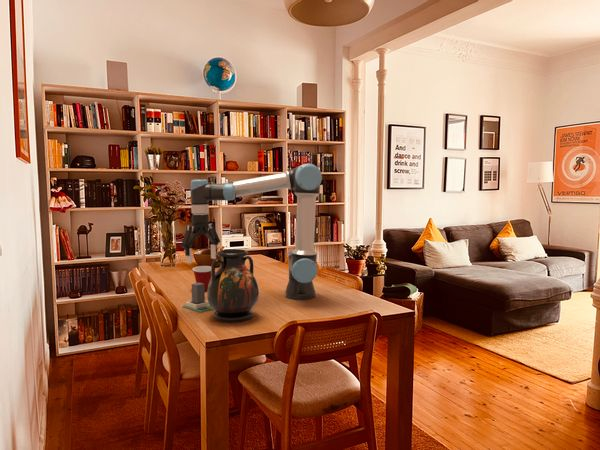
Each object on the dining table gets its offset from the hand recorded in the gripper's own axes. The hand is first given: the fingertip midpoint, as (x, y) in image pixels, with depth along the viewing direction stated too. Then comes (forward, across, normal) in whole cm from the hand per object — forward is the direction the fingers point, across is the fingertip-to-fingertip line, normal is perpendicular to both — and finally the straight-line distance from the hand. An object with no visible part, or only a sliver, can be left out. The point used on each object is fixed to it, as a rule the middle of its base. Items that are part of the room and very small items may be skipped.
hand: (201, 260), depth 202 cm
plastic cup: (+21, -19, -23) cm, 37 cm away
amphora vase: (+21, +3, +24) cm, 32 cm away
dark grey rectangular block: (+20, +2, -1) cm, 20 cm away
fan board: (+21, +3, +1) cm, 21 cm away
